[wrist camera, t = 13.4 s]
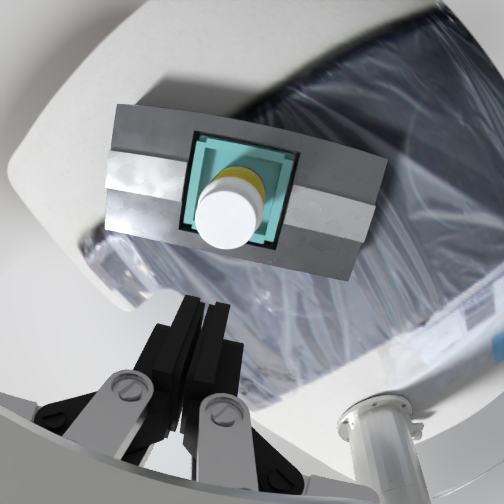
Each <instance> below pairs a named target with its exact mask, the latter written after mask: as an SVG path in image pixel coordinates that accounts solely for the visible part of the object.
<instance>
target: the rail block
mask: <svg viewBox="0 0 504 504" xmlns="http://www.w3.org/2000/svg"><path fill="white" fill-rule="evenodd" d="M203 134H207V135H213V136H219V137H224V138H229V139H235V140H240V141H245V142H250V143H254V144H259V145H264V146H268V147H273V148H277V149H281V150H286V151H290V152H293V153H294V157H293V165H292V169H291V173H290V177H289V181H288V185H287V189H286V193H285V197H284V201H283V205H282V209H281V213H280V217H279V221H278V225H277V229H276V233H275V237H274V241H273V242H272V241H267V240H264V243H263V244H261V243H256V242H252V241H248V242H246V243H245V244H244V245H242V246H240V247H237V248H234V249H220V248H216V247H214V246H212V245H210V244H208V243H207V242H206V241H205V240H204V239H203V238H202V237H201V236H200V234H199V232H198V230H196V229H192V224H188V223H184V216H185V209H186V202H187V196H188V190H189V183H190V177H191V171H192V165H193V159H194V154H195V148H196V143H197V141H199V139H200V135H203ZM387 161H388V159H385V158H383V157H380V156H378V155H375V154H372V153H369V152H366V151H363V150H359V149H356V148H353V147H350V146H346V145H343V144H339V143H336V142H332V141H329V140H325V139H321V138H318V137H314V136H310V135H306V134H302V133H298V132H294V131H290V130H286V129H282V128H277V127H273V126H268V125H264V124H259V123H254V122H249V121H244V120H239V119H234V118H228V117H223V116H217V115H211V114H205V113H198V112H192V111H185V110H177V109H170V108H161V107H152V106H143V105H130V104H117V108H116V114H115V121H114V128H113V135H112V143H111V150H109V152H108V161H107V172H106V184H105V188H107V196H106V214H105V229H108V230H112V231H117V232H121V233H126V234H130V235H134V236H139V237H143V238H148V239H152V240H157V241H162V242H166V243H171V244H175V245H180V246H184V247H189V248H193V249H198V250H203V251H207V252H212V253H216V254H221V255H226V256H230V257H235V258H240V259H244V260H249V261H254V262H258V263H263V264H268V265H272V266H277V267H282V268H286V269H291V270H296V271H301V272H305V273H310V274H315V275H320V276H324V277H329V278H334V279H339V280H344V281H348V280H349V278H350V275H351V272H352V269H353V267H354V264H355V261H356V259H357V256H358V253H359V250H360V247H361V244H362V242H363V243H364V241H365V238H366V235H367V232H368V229H369V226H370V223H371V220H372V217H373V214H374V211H375V208H376V206H375V202H376V199H377V196H378V192H379V189H380V186H381V182H382V179H383V175H384V172H385V168H386V165H387Z"/></svg>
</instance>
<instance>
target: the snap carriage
mask: <svg viewBox="0 0 504 504" xmlns="http://www.w3.org/2000/svg"><path fill="white" fill-rule="evenodd" d="M293 157H294V153H293V152H290V151H286V150H281V149H277V148H273V147H268V146H264V145H259V144H254V143H250V142H245V141H240V140H235V139H229V138H224V137H219V136H213V135H207V134H203V135H200V139H199V141H197V143H196V148H195V154H194V159H193V165H192V171H191V177H190V183H189V190H188V196H187V202H186V209H185V216H184V223H188V224H192V229H196V230H197V228H196V224H195V213H196V210H197V206H198V200H199V197H200V195H201V193H202V191H203V190H204V188H205V187H206V186H207V185H208V184H209V183H210V181H211V180H212V179H213V178H214V177H215V176H216V175H217V174H218V173H219V172H220V171H221V170H223V169H224V168H226V167H229V166H232V165H243V166H247V167H250V168H251V169H253V170H255V171H256V172H257V173H258V174H259V175H260V177H261V178H262V180H263V182H264V186H265V200H264V211H263V218H262V221H261V223H260V225H259V227H258V228H257V230H256V231H255V232H254V234H253V236H252V237H251V238H250V240H249V241H252V242H256V243H261V244H263V243H264V240H267V241H272V242H273V241H274V237H275V233H276V229H277V225H278V221H279V217H280V213H281V209H282V205H283V201H284V197H285V193H286V189H287V185H288V181H289V177H290V173H291V169H292V165H293Z"/></svg>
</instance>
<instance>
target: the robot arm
mask: <svg viewBox="0 0 504 504" xmlns="http://www.w3.org/2000/svg"><path fill="white" fill-rule="evenodd" d="M204 308H205V303H203V302H200V298H199V297H194V296H190V295H185V297H184V299H183V301H182V303H181V305H180V308H179V310H178V312H177V314H176V316H175V319H174V321H173V323H172V325H171V327H170V326H166V325H162V324H156V326H155V328H154V329H153V331H152V333H151V336H150V337H149V339H148V341H147V343H146V345H145V347H144V349H143V351H142V353H141V355H140V357H139V359H138V361H137V363H136V365H135V367H134V369H133V370H121V371H118V372H116V373H113V374H112V375H111V376H110V377H109V378H108V379H107V381H106V382H105V383H104V384H103V385H102V387H101V388H100V389H99V390H98V391H97V392H93V393H89V394H86V395H82V396H78V397H74V398H71V399H67V400H63V401H59V402H55V403H51V404H48V405H45V406H43V407H41V406H38V404H37V403H36V402H32V401H28V400H25V399H21V398H17V397H14V396H10V395H7V394H4V393H1V392H0V504H431V501H430V498H429V494H428V491H427V487H426V483H425V480H424V476H423V473H422V470H421V466H420V463H419V460H418V456H417V453H416V450H415V447H414V443H413V440H420V439H421V437H422V431H421V430H422V429H423V427H424V425H423V423H412V421H411V419H410V418H411V415H412V407H411V404H410V402H409V401H408V400H407V399H406V398H404V397H402V396H398V395H382V396H377V397H373V398H370V399H367V400H364V401H362V402H360V403H358V404H356V405H354V406H353V407H351V408H350V409H349V410H347V411H346V412H345V413H344V414H343V415H342V417H341V418H340V419H339V422H338V425H337V429H338V434H339V436H340V437H341V438H342V439H343V440H345V441H347V442H350V448H351V454H352V460H353V466H354V472H355V478H356V484H352V483H347V482H342V481H338V480H333V479H328V478H324V477H320V476H316V475H311V476H310V477H309V476H305V475H302V474H301V473H300V472H299V471H298V469H296V468H295V467H294V466H293V465H292V464H291V463H290V462H289V461H288V460H286V459H285V458H284V457H283V456H282V455H281V454H280V453H279V452H278V451H277V450H276V449H274V448H273V447H272V446H271V445H270V444H269V443H268V442H267V441H266V440H265V439H264V438H263V437H262V436H261V435H260V434H259V433H258V432H256V431H255V429H254V428H253V427H251V422H250V413H249V409H248V407H247V406H246V404H245V403H244V402H243V401H242V400H241V399H239V398H238V397H237V394H238V386H239V379H240V371H241V363H242V355H243V347H244V343H239V342H234V341H230V340H225V339H223V337H224V333H225V328H226V323H227V319H228V314H229V310H230V305H229V304H225V303H220V302H216V303H215V305H211V304H209V307H208V310H207V313H206V316H205V319H204V323H203V326H202V320H203V314H204ZM201 326H202V329H201ZM182 407H183V409H182ZM181 411H182V418H181V428H180V433H182V434H184V439H183V445H184V447H186V449H187V450H188V452H189V453H190V454H191V455H192V456H191V480H188V479H184V478H179V477H175V476H171V475H167V474H164V473H160V472H156V471H153V470H149V469H146V468H143V466H144V464H145V462H146V460H147V458H148V456H149V455H150V453H151V451H152V449H153V446H154V443H156V442H159V441H161V440H163V439H164V438H168V435H169V432H170V431H174V432H175V431H176V428H177V425H178V421H179V418H180V414H181Z"/></svg>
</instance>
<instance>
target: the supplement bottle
mask: <svg viewBox="0 0 504 504" xmlns="http://www.w3.org/2000/svg"><path fill="white" fill-rule="evenodd" d="M264 200H265V186H264V182H263V180H262V178H261V177H260V175H259V174H258V173H257V172H256V171H255V170H253V169H251V168H250V167H247V166H243V165H232V166H229V167H226V168H224V169H223V170H221V171H220V172H219V173H218V174H217V175H216V176H215V177H214V178H213V179H212V180H211V181H210V183H209V184H208V185H207V186H206V187H205V188H204V190H203V191H202V193H201V195H200V197H199V200H198V206H197V210H196V213H195V224H196V228H197V230H198V232H199V234H200V236H201V237H202V238H203V239H204V240H205V241H206V242H207V243H208V244H210V245H212V246H214V247H216V248H220V249H234V248H237V247H240V246H242V245H244V244H245V243H246V242H248V241H249V240H250V238H251V237H252V236H253V234H254V232H255V231H256V230H257V228H258V227H259V225H260V223H261V221H262V218H263V211H264Z"/></svg>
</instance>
